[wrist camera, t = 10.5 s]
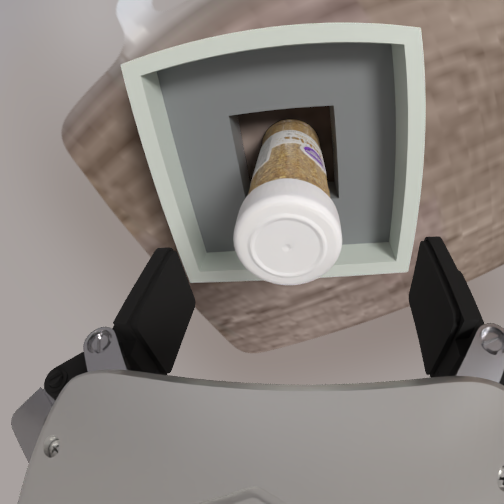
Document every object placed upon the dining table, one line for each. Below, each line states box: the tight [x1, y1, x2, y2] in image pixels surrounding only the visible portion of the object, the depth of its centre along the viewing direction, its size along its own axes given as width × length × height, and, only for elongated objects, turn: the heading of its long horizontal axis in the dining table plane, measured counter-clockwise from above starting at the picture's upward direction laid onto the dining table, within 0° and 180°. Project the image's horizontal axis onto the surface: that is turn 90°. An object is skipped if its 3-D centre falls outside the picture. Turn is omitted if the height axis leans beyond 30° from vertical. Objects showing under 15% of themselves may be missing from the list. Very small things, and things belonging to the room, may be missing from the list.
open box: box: [121, 23, 425, 283], centre depth 21 cm, size 18×18×6 cm
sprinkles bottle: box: [233, 119, 342, 285], centre depth 17 cm, size 5×5×14 cm
